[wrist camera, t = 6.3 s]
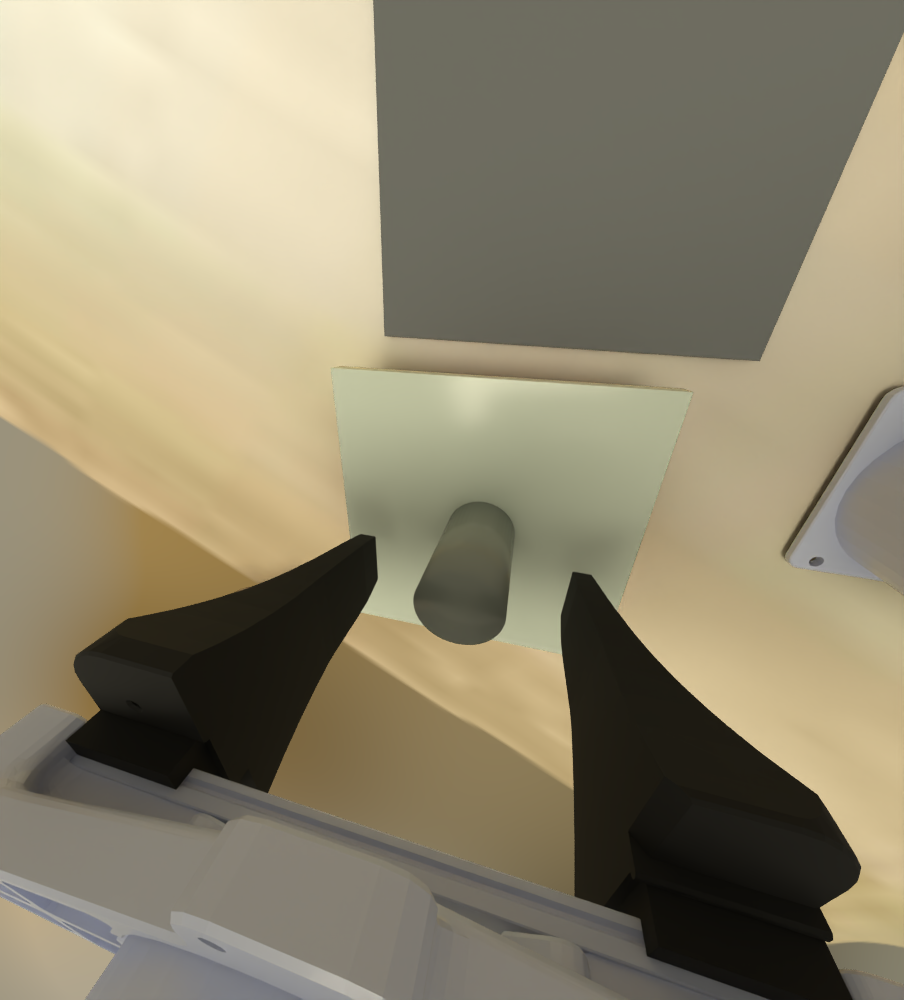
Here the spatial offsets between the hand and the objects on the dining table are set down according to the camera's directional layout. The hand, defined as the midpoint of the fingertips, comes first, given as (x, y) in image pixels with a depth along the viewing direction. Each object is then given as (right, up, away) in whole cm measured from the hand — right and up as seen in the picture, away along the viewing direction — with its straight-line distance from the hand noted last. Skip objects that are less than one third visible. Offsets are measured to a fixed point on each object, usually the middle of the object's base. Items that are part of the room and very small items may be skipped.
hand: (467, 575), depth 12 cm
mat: (+4, +16, -1) cm, 17 cm away
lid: (+1, +2, +2) cm, 3 cm away
